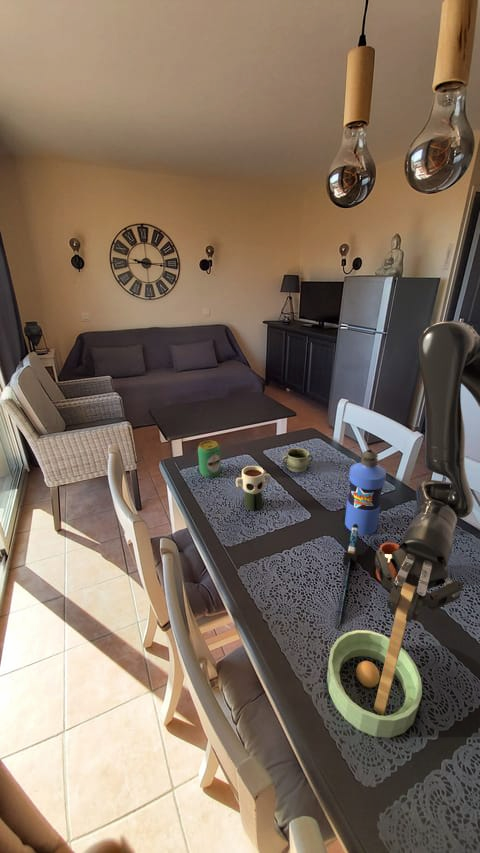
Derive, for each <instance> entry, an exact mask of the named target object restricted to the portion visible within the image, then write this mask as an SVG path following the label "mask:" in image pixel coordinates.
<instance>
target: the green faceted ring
mask: <svg viewBox="0 0 480 853" xmlns="http://www.w3.org/2000/svg"><path fill="white" fill-rule="evenodd" d="M389 642H390V638H389V637H388V636H386V635H384V634H382V633H378V632H375V631H373V630H367V629H365V630H362V629H356V630H352V631H349V632H345V633H343V635H341V636H340V637H338V638H337V639H335V642H334V643H333V645H332V646H331V648H330V651H329V657H328V664H327V673H326V681H327V688H328V692H329V695H330V697H331V699H332V702H333V704H334V706H335V708H336V709H337V710H338V712H339V713H340V714H341V715H342V717H343V718H344V719H345V720H346V721H347V722H348V723H350V724H351V725H352V726H353V727H354V728H356V729H357V730H358V731H361V732H363V733H365V734H368V735H370V736H373V737H376V738H394V737H397V736H399V735H402V734H405V733H406V732H407V731H408V730H409V729H410V727H412V725H413V724H414V722H415V719H416V716H417V714H418V710H419V707H420V703H421V700H422V697H423V686H422V685H423V684H422V682H423V681H422V677H421V675H420V672H419V669H418V667H417V665H416V663H415V662H414V660H413V659H412V658H411V656H410V654H409V653H408V652H407V651H406V650H405V649H404V648H403V647H401V650H400V654H399V658H398V662H397V666H396V670H395V674H394V676H395V677H396V678H397V679H398V681H399V682H400V685H401V688H402V690H403V695H404V696H403V697H404V698H403V699H404V701H403V705H402V707H400V708H399V709H398V710H397V711H396V712H394V713H391V714H389V715H384V716H383V715H381V714H376V713H373V712H371V711H369V710H365V709H363V708H362V707H361V706H360V705H358V704H357V703H355V702H354V701H353V700H352V699H351V697H350V696H348V694H347V693H346V690H345V689H344V686H343V685H342V681H341V675H340V671H341V669H342V668H343V666H344V664H345V663H347V662H348V661H349V660H350V659H354V658H356V657H368V658H371V659H374V660H377V661H379V662H380V663H381V664H383V665H384V663H385V659H386V654H387V650H388V646H389Z"/></svg>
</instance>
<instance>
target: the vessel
mask: <svg viewBox="0 0 480 853" xmlns="http://www.w3.org/2000/svg"><path fill="white" fill-rule="evenodd" d="M309 458H311V459H309ZM313 460H314V456H313V455H312V454H311V453H310V452H309V450H307V449H305V448H301V447H292V448H289V449H288V450H287V451H286V455H283V456H282V457H281V462H282V463H283V467H287V469H288V470H289V471H291V472H294V473H303V472H305V471H306V470H307V468H308V466H310V465H311V464H312V462H313Z"/></svg>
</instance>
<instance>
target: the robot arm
mask: <svg viewBox="0 0 480 853" xmlns="http://www.w3.org/2000/svg"><path fill="white" fill-rule="evenodd" d="M417 356H418V362H419V368H420V369H419V370H420V375H421V379H422V386H423V394H424V396H423V397H424V406H425V443H424V444H425V448H424V449H425V450H424V453H425V456H424V459H425V460H424V461H425V462H424V463H425V466H426V469H427V470H429V471H430V472H432V473H434V474H438V475H440V476H443V477H445V478H447V479H448V480H449V481H444V480H443V481H442V480H435V479H426V480H423V481H421V482H420V483H418V485H417V487H416V489H415V490H416V491H415V500H416V505H417V506H416V507H417V508H416V512H415V514H414V516H413V519H412V520H411V521H410V523H408V526H407V528H406V530H405V533H404V535H403V537H402V539H401V541H400V544H398V545H399V548H398V549H397V550H396V551H394V552H393V553H392V554H384V552H383V551H382V550H379V549H377V550H376V552H375V557H374V565H375V569H376V568H377V571H378V574H379V577H380V580H381V581H380V580H379V581H380V583H381V586H382V587H383V588H384V589H386V590H390V593H389V595H388V597H387V602H386V607H387V609H389V614H391V615H393V616H396V612H397V608H398V604H399V600H400V596H401V590H402V587H403V585H404V583H407V584H410V585H412V586H414V587H416V591H415V593H414V595H413V598H412V600H411V603H410V606H409V609H408V612H407V616H406V621H407V623H409V624H411V623H412V621H414V622H417V621H418V620H419V617H420V614H421V610H422V608H423V607H428V608H429V609H430V610H432V611H436V610H439V609H440V608H443V607H445V606H447V605H449V604H450V603H451V604H452V603H453V602H455V601H457V600H459V599H460V597H461V595H462V591H463V587H464V584H463V583H462V582H461V581H459V580H455V581H453V580H452V579H451V578H450V577H449V573H448V571H447V566H448V563H449V560H450V556H451V554H452V549H453V545H454V535H455V532H456V528H457V524H458V519H464V518H467V517H468V516H470V515H471V513H473V512H472V511H473V510H474V497H473V493H472V489H471V486H470V484H469V480H468V476H467V471H466V465H465V460H466V459H465V457H466V456H465V455H466V454H465V453H466V428H465V421H464V415H463V411H462V410H463V409H462V397H461V396H462V386H463V387H464V388H465V389H466V390H467V391H468V392H469V393H470V394H471V396H472V397H473V399H474V401H475V402H476V404H477V406H478V407H479V408H480V335H479V334H478V333H477V331H476V330H475V329H474V328H473V327H472V326H471V325H470V324H468V323H465V322H464V321H459V320H448V321H446V320H445V321H441V322H437V323H434V324H432V325H431V326H428V327H427V328H426V329H425V330H424V331H423V332H422V334H421V335H420V337H419V339H418V343H417ZM391 562H392V564H393V566H394V568H395V570H396V572H397V574H398V576H397V578H396V579H395V578H393V577H392V573H391V570H390V568H389V565H390V563H391ZM441 585H443V586H441ZM438 586H441V587H439V588H437V589H435V590H433V591H431V592H427V590H429V589H433V588H436V587H438Z"/></svg>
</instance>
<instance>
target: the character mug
mask: <svg viewBox="0 0 480 853" xmlns="http://www.w3.org/2000/svg"><path fill="white" fill-rule="evenodd" d="M265 478H266V480H265ZM270 481H271V475H270V474H269V473H265V469H263V467H261V466H260V465H259V466H258V465H248V466H245V467H243V468H242V470H241V476H240V477H236V479H235V486H236V487H237V488H242V490H243V491H244V497H243V505H244V507H245V508H246V509H247V510H249V511H255V508H256V510H260V509H261V508H263V507H264V499H263V492H262V491H263V490H264V489H265V484H270ZM240 482H241V483H240Z"/></svg>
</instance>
